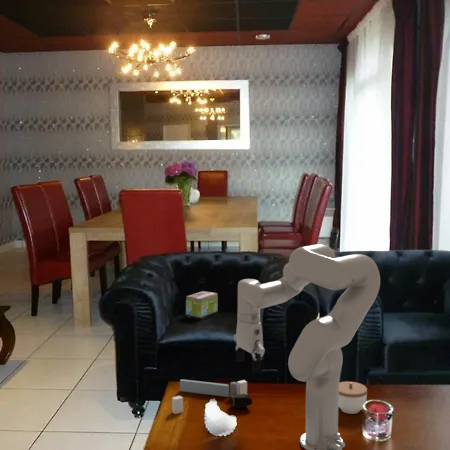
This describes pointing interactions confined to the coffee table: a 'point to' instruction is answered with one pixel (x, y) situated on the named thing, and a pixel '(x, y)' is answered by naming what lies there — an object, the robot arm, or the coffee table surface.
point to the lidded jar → (351, 397)
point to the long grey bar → (204, 387)
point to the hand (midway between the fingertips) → (248, 366)
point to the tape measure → (240, 400)
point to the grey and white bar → (234, 389)
